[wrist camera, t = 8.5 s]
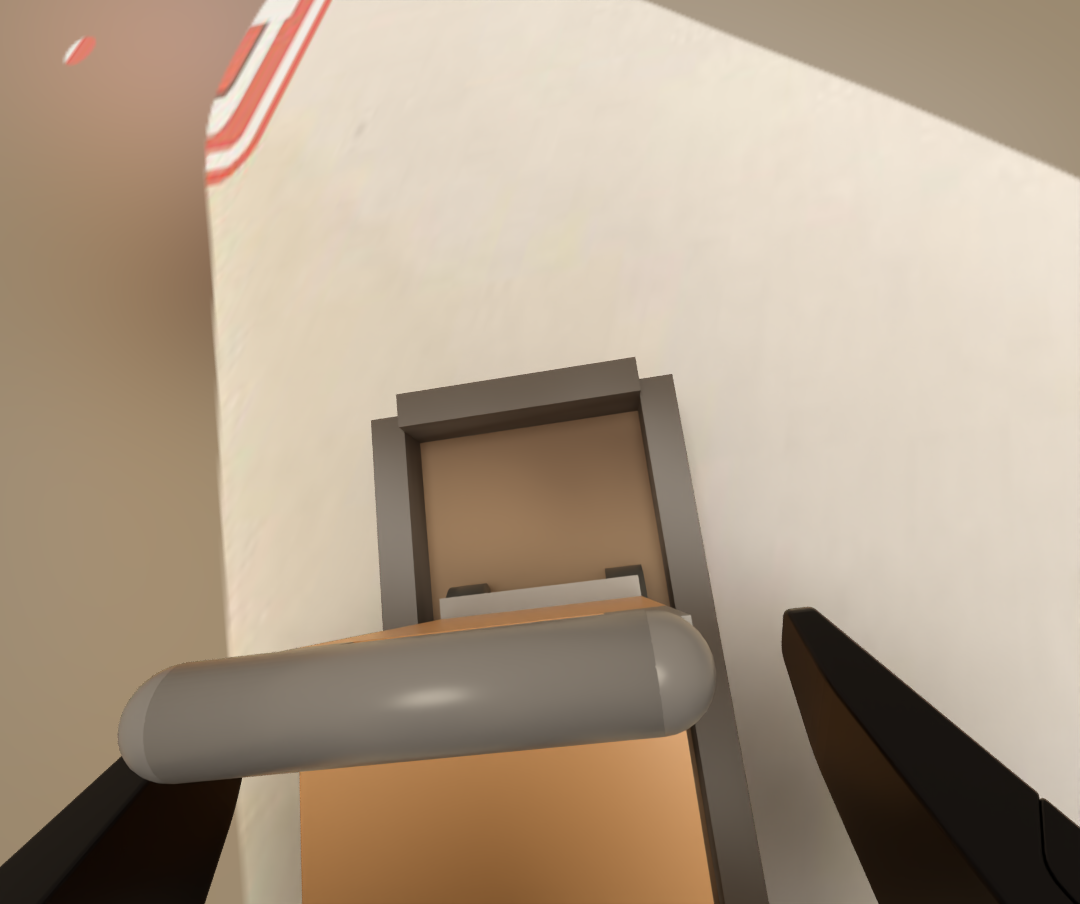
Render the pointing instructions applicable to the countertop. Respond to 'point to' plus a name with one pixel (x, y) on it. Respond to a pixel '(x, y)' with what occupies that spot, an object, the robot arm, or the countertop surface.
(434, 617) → the dock
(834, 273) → the countertop surface
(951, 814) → the robot arm
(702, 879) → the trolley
